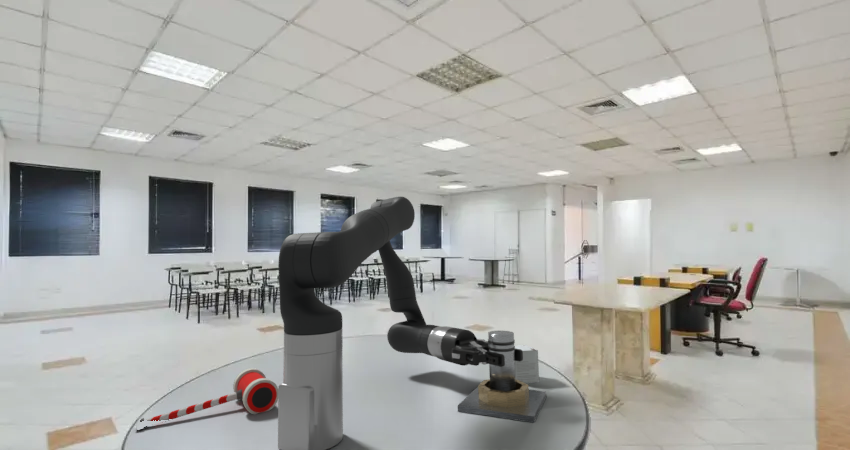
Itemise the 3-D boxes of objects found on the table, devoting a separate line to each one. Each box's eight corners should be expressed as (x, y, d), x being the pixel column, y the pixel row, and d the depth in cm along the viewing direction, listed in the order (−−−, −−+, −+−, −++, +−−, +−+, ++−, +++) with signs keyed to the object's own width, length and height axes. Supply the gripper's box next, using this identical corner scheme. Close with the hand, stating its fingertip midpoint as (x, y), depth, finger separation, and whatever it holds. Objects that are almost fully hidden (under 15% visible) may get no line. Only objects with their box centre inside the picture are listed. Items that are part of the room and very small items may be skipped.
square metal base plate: (534, 422, 68) (533, 401, 68) (457, 411, 73) (457, 391, 74) (546, 396, 80) (545, 378, 80) (480, 388, 86) (479, 372, 86)
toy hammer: (135, 444, 64) (136, 403, 64) (135, 421, 73) (137, 386, 74) (279, 410, 77) (279, 377, 78) (264, 395, 87) (264, 365, 87)
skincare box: (504, 377, 94) (503, 345, 95) (527, 375, 96) (526, 344, 96) (515, 384, 89) (514, 351, 89) (540, 382, 90) (538, 349, 90)
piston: (513, 395, 74) (510, 336, 75) (486, 392, 76) (484, 334, 77) (519, 387, 78) (516, 331, 79) (493, 384, 81) (491, 329, 82)
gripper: (427, 332, 84) (487, 344, 71) (473, 323, 94) (534, 333, 81) (428, 367, 84) (488, 386, 71) (474, 356, 93) (535, 371, 80)
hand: (512, 358), depth 76 cm, fingers closed on piston, 5 cm apart
